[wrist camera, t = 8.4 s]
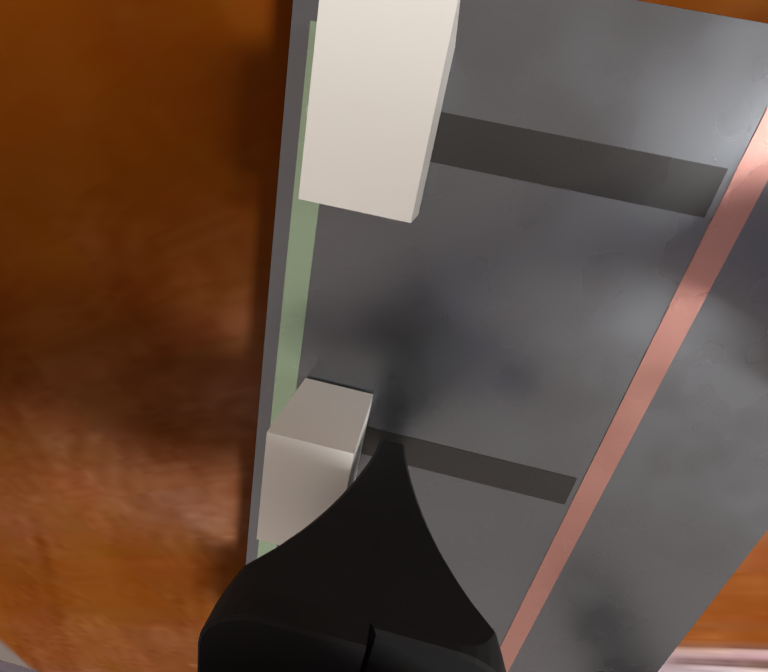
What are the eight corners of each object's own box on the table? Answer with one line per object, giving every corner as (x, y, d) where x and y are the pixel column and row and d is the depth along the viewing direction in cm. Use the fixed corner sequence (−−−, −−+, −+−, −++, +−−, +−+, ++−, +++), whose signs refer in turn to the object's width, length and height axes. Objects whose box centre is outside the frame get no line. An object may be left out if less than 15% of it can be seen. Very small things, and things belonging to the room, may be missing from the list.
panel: (1042, 95, 9) (1112, 84, 8) (594, 716, 19) (602, 743, 18) (311, -37, 10) (297, -60, 9) (248, 619, 20) (239, 640, 19)
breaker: (455, 46, 9) (463, -21, 6) (418, 214, 11) (410, 222, 8) (359, 28, 9) (324, -46, 7) (336, 197, 11) (298, 198, 8)
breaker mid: (373, 394, 13) (353, 453, 10) (354, 484, 15) (332, 559, 12) (305, 378, 13) (266, 432, 10) (293, 469, 15) (256, 539, 12)
